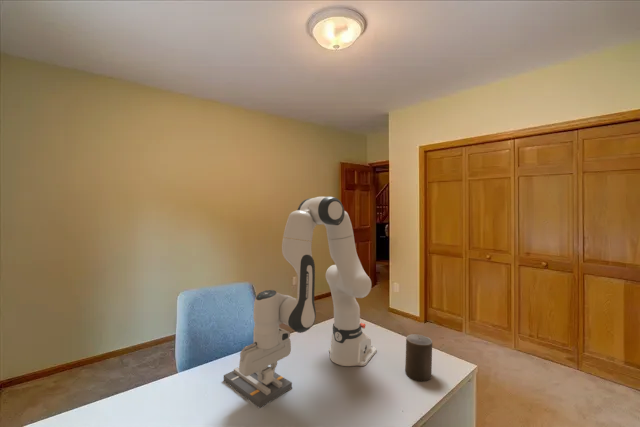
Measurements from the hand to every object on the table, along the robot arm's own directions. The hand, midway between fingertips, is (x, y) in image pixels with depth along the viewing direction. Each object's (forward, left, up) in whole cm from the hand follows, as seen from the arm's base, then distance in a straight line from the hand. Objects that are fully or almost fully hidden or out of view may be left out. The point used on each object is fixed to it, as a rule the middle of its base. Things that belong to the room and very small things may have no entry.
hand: (266, 376), depth 103 cm
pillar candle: (-46, +36, -5) cm, 58 cm away
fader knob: (0, 0, -3) cm, 3 cm away
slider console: (0, -5, -5) cm, 7 cm away
